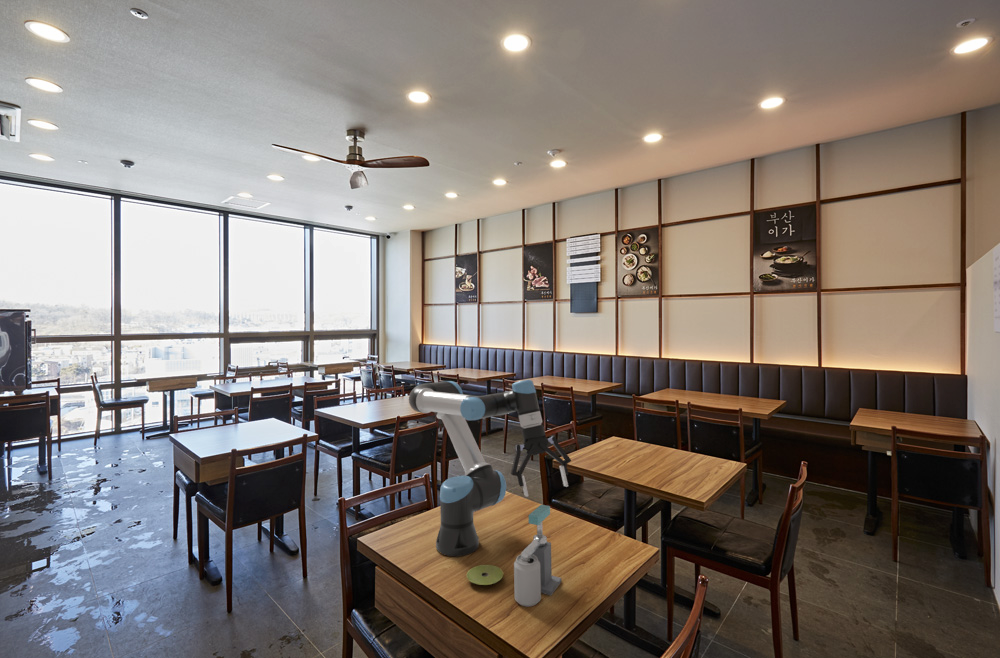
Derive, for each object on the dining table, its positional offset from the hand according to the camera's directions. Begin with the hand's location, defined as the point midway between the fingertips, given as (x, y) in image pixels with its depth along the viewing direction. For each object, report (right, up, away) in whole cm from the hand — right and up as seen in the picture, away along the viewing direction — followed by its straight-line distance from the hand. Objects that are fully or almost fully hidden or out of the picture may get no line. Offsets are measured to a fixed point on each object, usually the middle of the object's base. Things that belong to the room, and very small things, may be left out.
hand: (546, 491), depth 147 cm
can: (-7, -24, -19) cm, 32 cm away
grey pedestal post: (-3, -24, -11) cm, 27 cm away
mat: (-20, -24, -9) cm, 33 cm away
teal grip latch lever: (-5, -12, -14) cm, 19 cm away
